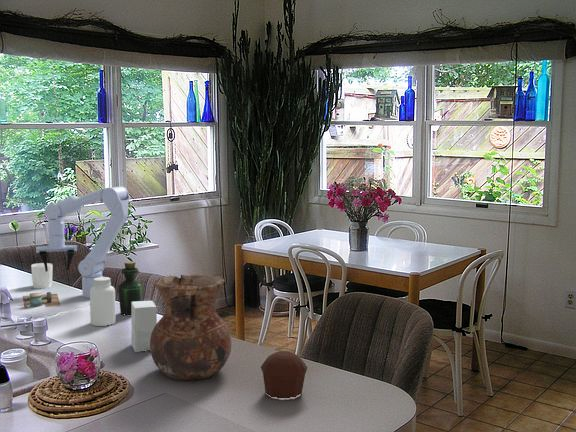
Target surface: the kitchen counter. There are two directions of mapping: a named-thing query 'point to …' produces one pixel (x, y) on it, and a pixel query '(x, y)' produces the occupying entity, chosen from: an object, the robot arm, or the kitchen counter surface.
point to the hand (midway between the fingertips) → (57, 270)
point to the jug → (190, 328)
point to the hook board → (44, 300)
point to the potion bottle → (129, 288)
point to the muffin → (283, 374)
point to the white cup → (41, 275)
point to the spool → (35, 299)
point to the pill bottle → (102, 302)
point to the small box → (142, 324)
